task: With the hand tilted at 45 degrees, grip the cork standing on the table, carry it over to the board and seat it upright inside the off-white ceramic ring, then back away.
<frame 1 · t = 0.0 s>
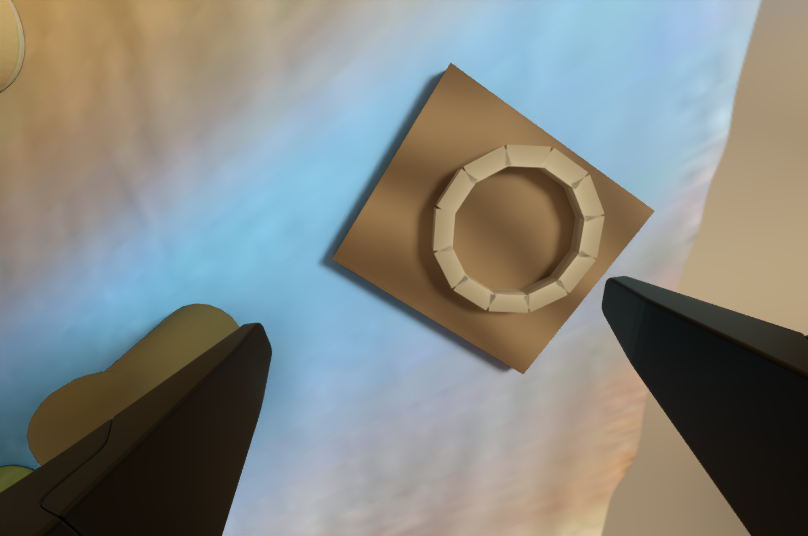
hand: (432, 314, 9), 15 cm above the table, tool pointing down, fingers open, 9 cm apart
ring board: (506, 228, 24), on the table
cork: (205, 340, 26), on the table
plant pot: (25, 491, 30), on the table
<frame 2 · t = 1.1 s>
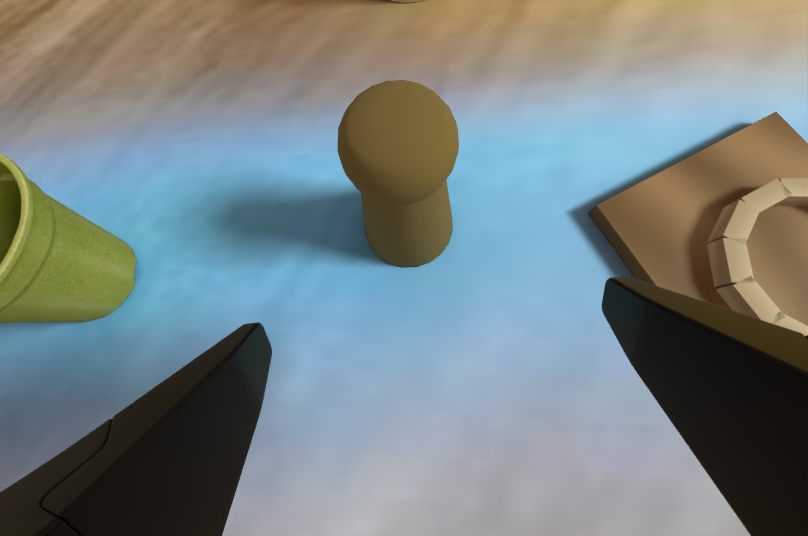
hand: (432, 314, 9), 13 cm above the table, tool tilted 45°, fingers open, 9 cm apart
ring board: (784, 273, 22), on the table
cork: (408, 226, 24), on the table
plant pot: (99, 278, 25), on the table
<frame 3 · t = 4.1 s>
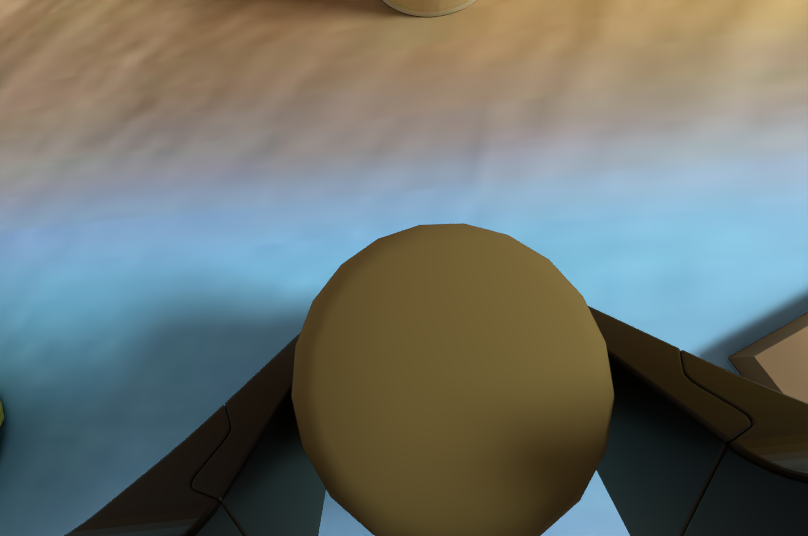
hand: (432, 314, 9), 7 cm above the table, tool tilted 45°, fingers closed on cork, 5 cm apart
cork: (434, 369, 15), on the table, touching gripper
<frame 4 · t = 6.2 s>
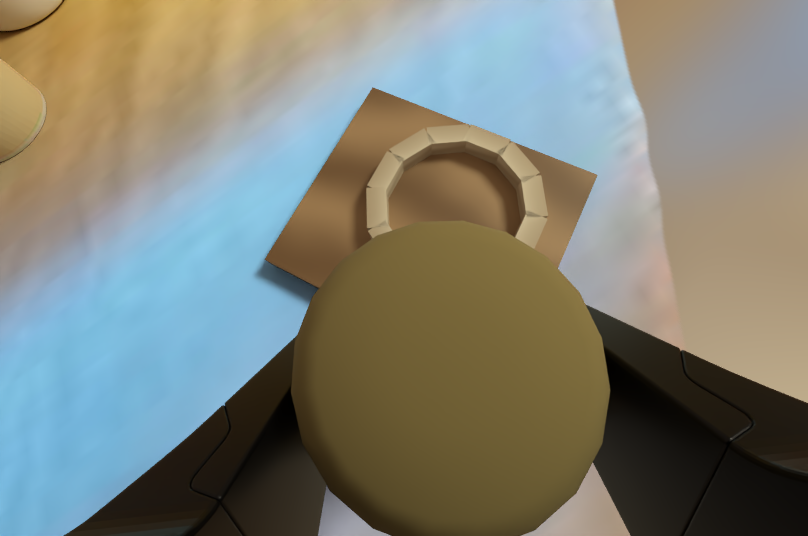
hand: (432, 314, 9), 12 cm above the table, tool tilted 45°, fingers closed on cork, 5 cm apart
coffee cup: (2, 124, 28), on the table
ring board: (451, 217, 23), on the table
cork: (431, 367, 15), point 5 cm above the table, touching gripper
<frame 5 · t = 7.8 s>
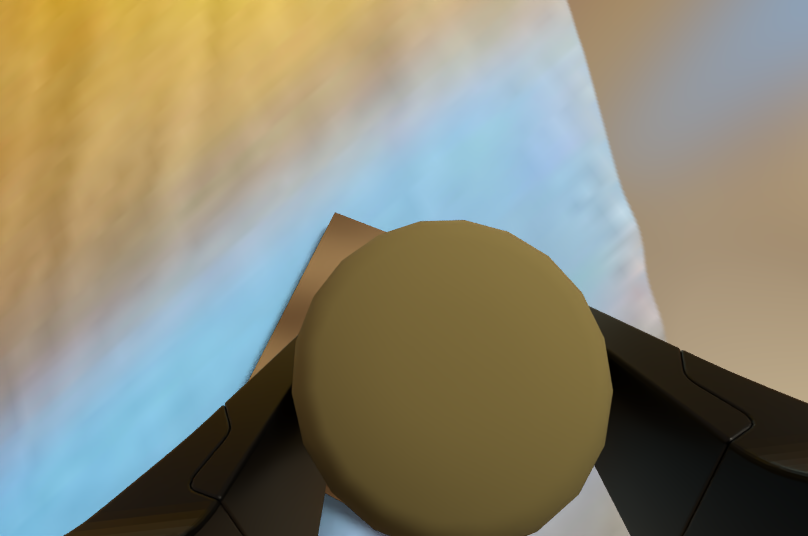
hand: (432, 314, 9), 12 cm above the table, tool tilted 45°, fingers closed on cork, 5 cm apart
ring board: (432, 363, 20), on the table
cork: (431, 367, 15), point 5 cm above the table, touching gripper
when the fingers open (9 cm above the table, at t = 8.9 s): cork stays where it is, resting on ring board.
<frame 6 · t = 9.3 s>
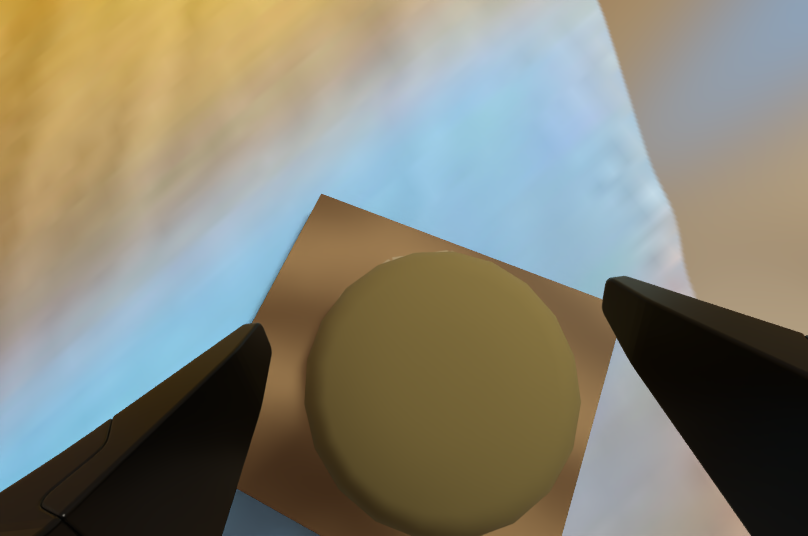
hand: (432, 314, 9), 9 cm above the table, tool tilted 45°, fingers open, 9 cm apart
ring board: (434, 369, 17), on the table
cork: (432, 373, 16), point 1 cm above the table, touching ring board
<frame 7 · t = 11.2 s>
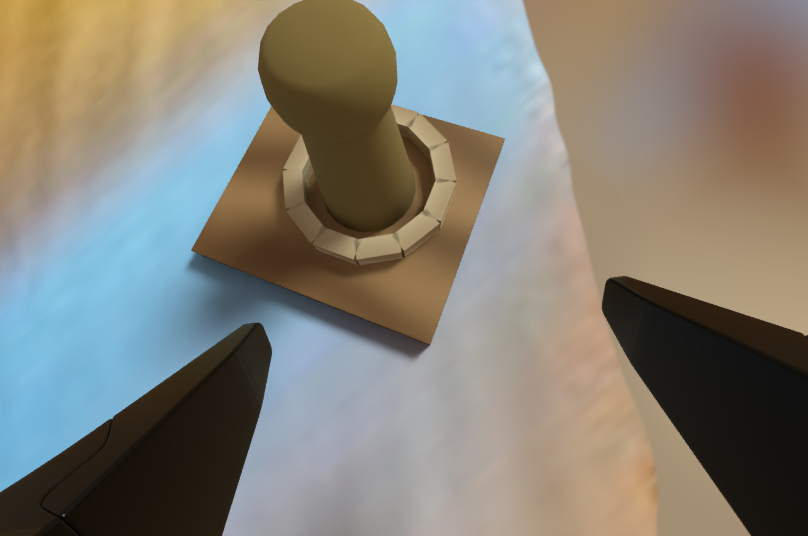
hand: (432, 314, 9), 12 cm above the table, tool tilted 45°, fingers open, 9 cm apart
ring board: (373, 193, 24), on the table
cork: (369, 189, 23), point 1 cm above the table, touching ring board
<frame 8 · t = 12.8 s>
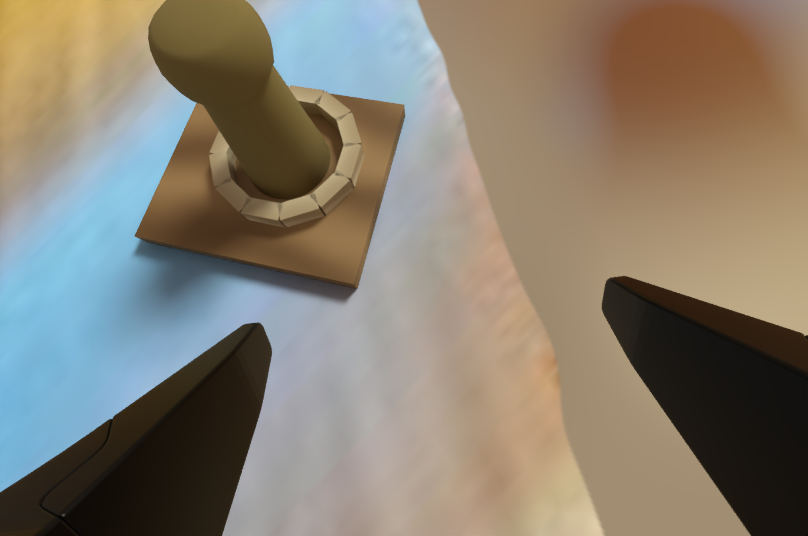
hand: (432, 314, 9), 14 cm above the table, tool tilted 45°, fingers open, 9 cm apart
ring board: (296, 167, 26), on the table
cork: (290, 163, 25), point 1 cm above the table, touching ring board
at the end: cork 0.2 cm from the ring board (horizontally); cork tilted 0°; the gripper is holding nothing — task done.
